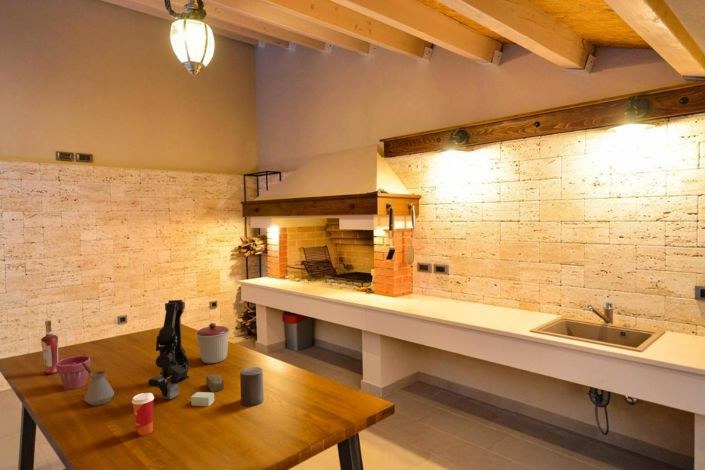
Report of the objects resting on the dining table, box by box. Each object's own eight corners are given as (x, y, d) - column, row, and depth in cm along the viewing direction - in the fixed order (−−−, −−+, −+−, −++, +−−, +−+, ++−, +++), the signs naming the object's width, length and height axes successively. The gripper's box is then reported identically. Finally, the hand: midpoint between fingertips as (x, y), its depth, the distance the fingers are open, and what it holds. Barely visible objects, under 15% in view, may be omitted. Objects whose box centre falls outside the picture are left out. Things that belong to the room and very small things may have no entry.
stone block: (212, 393, 202) (212, 383, 201) (205, 385, 211) (205, 375, 211) (225, 390, 205) (224, 379, 205) (217, 382, 214) (217, 372, 214)
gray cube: (161, 397, 196) (161, 386, 196) (170, 393, 201) (169, 382, 201) (170, 399, 195) (169, 388, 194) (178, 394, 199) (178, 383, 199)
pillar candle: (244, 408, 185) (242, 373, 184) (238, 399, 194) (237, 366, 193) (266, 403, 190) (265, 369, 189) (260, 394, 199) (259, 362, 198)
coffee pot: (119, 399, 198) (117, 367, 196) (91, 410, 188) (89, 375, 187) (97, 389, 210) (95, 358, 209) (71, 398, 201) (68, 366, 200)
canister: (238, 358, 248) (236, 321, 246) (212, 368, 233) (210, 329, 231) (216, 353, 258) (214, 317, 256) (190, 362, 242) (187, 325, 241)
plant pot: (96, 385, 215) (94, 359, 214) (62, 394, 205) (60, 367, 204) (86, 378, 225) (84, 353, 224) (54, 386, 215) (52, 361, 214)
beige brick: (191, 405, 190) (191, 396, 190) (197, 400, 195) (196, 392, 194) (208, 406, 188) (208, 397, 188) (214, 401, 193) (213, 392, 193)
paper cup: (138, 427, 172) (136, 392, 171) (159, 426, 172) (156, 391, 171) (130, 438, 164) (127, 401, 163) (151, 436, 165) (149, 400, 164)
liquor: (40, 374, 232) (36, 322, 230) (54, 369, 238) (50, 318, 236) (49, 376, 229) (45, 323, 227) (63, 371, 236) (59, 319, 234)
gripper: (166, 369, 185) (168, 405, 186) (196, 354, 203) (198, 387, 204) (146, 366, 189) (148, 402, 190) (177, 352, 206) (179, 384, 208)
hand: (170, 393), depth 198 cm, fingers closed on gray cube, 5 cm apart
